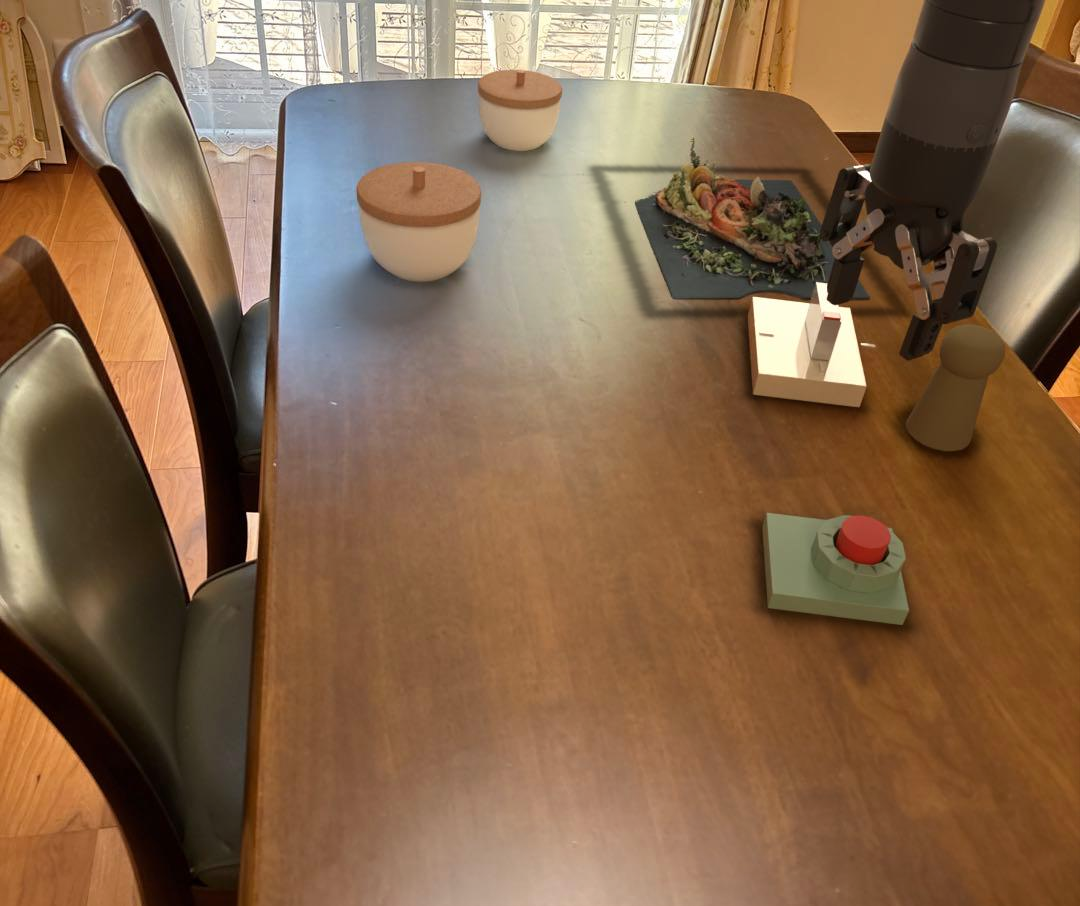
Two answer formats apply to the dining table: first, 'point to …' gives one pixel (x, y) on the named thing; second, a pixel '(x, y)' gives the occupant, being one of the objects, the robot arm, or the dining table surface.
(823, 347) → the white switch lever
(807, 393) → the switch base
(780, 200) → the plated dish
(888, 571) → the button box
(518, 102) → the trinket box
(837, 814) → the dining table surface
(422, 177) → the lidded bowl
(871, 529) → the button
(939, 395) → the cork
